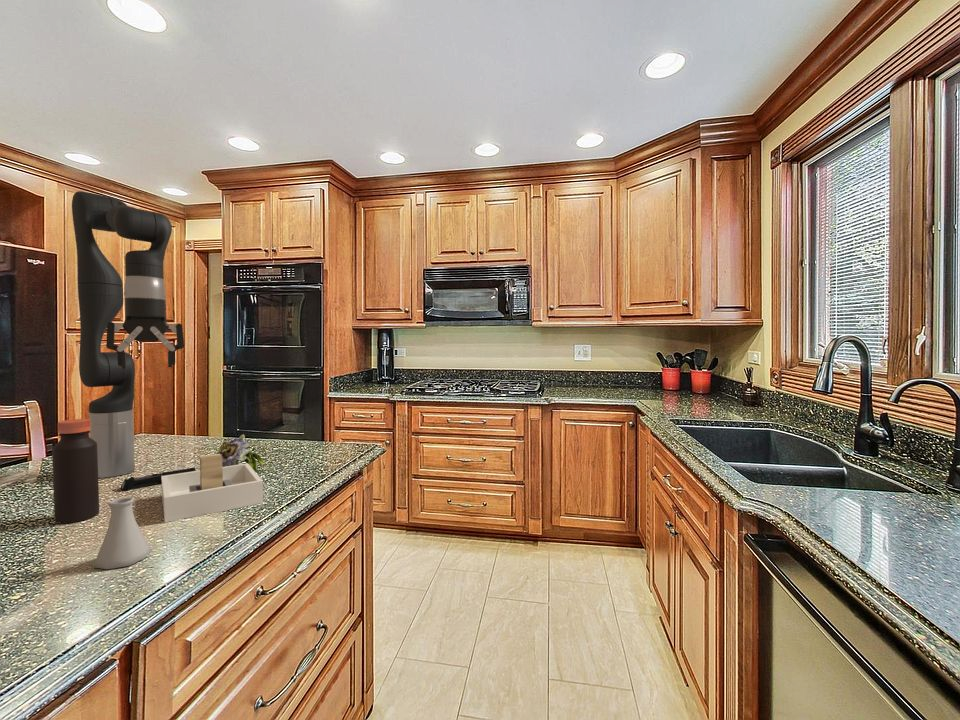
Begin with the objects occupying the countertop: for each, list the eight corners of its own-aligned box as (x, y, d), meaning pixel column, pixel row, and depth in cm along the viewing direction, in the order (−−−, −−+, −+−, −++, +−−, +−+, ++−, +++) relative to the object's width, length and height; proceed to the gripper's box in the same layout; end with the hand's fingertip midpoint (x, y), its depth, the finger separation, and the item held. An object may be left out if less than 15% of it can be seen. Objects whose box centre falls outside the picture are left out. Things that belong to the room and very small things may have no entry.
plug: (200, 495, 101) (199, 456, 100) (220, 491, 103) (219, 453, 103) (202, 500, 97) (201, 460, 97) (223, 496, 100) (222, 457, 99)
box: (161, 497, 102) (161, 476, 102) (248, 482, 113) (247, 463, 113) (164, 522, 88) (164, 498, 87) (263, 502, 99) (262, 480, 98)
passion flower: (227, 493, 121) (199, 458, 120) (254, 474, 131) (229, 442, 130) (252, 474, 117) (224, 438, 116) (278, 456, 128) (253, 423, 127)
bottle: (107, 510, 94) (104, 417, 93) (84, 523, 87) (81, 423, 87) (71, 512, 93) (67, 418, 92) (45, 525, 86) (41, 424, 85)
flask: (116, 550, 76) (114, 493, 76) (160, 548, 77) (158, 492, 76) (82, 571, 69) (79, 509, 69) (130, 570, 70) (128, 508, 69)
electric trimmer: (196, 480, 116) (196, 468, 116) (121, 493, 105) (121, 480, 105) (193, 477, 119) (193, 465, 119) (120, 489, 108) (119, 476, 108)
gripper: (181, 300, 109) (183, 366, 109) (106, 297, 100) (108, 368, 101) (183, 298, 103) (185, 367, 103) (103, 294, 94) (106, 369, 95)
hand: (147, 367), depth 102 cm, fingers open, 8 cm apart
